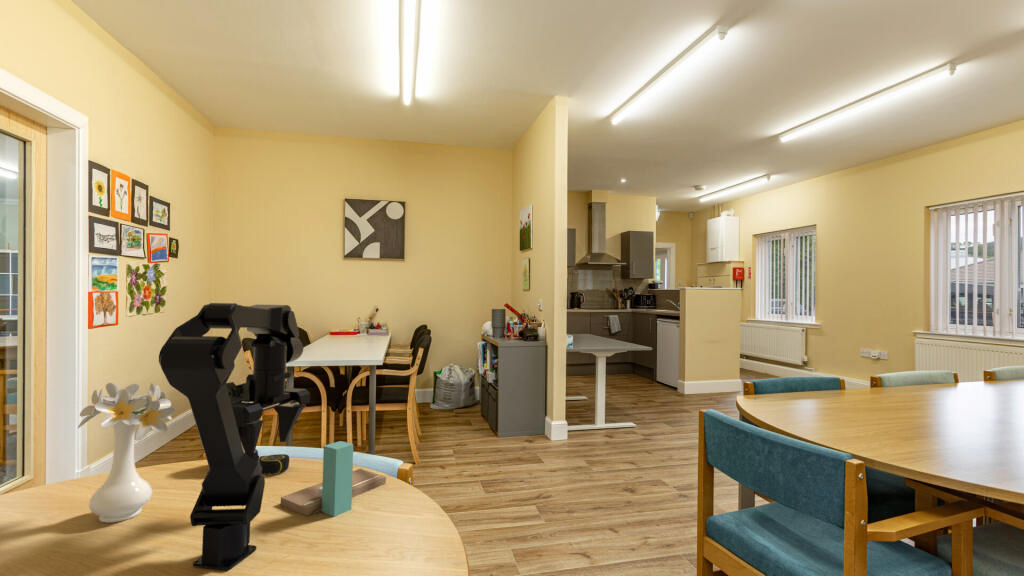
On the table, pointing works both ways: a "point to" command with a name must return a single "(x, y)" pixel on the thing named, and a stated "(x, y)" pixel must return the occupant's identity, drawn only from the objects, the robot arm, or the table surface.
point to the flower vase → (126, 447)
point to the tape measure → (274, 463)
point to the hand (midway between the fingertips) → (266, 448)
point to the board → (312, 503)
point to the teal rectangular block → (337, 478)
